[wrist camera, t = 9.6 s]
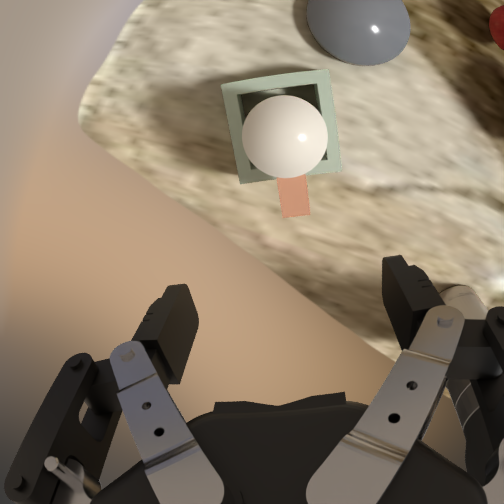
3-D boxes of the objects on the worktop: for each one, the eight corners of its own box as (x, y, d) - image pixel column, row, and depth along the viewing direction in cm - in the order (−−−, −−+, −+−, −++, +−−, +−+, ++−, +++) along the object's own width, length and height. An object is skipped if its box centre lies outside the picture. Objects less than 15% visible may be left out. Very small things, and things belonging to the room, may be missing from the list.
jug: (250, 99, 28) (234, 102, 19) (308, 92, 28) (321, 90, 18) (265, 183, 32) (257, 223, 23) (320, 176, 31) (336, 214, 22)
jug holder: (336, 164, 31) (342, 171, 28) (243, 176, 32) (240, 184, 29) (324, 71, 26) (328, 69, 24) (226, 85, 28) (220, 84, 25)
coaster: (413, 66, 25) (417, 65, 24) (316, 69, 26) (317, 68, 25) (394, -22, 20) (398, -25, 19) (297, -22, 22) (297, -26, 21)
